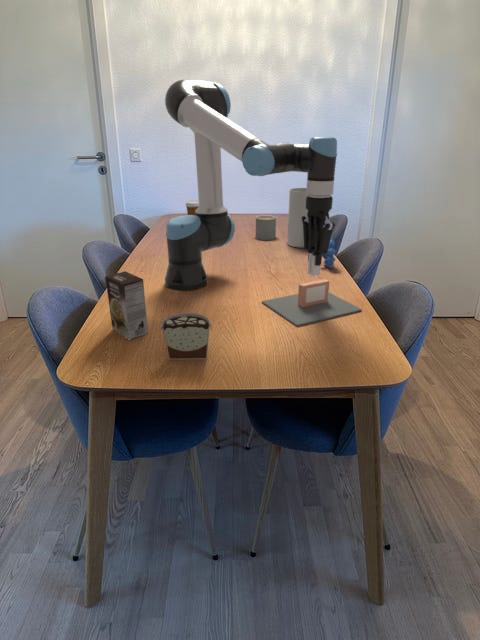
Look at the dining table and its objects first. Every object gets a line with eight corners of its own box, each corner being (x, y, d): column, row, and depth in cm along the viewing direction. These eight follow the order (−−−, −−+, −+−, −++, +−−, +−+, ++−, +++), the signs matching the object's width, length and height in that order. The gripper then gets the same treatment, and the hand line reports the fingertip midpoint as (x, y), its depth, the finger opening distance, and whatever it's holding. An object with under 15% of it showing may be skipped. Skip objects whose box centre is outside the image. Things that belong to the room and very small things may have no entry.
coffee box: (111, 330, 122) (103, 275, 115) (131, 323, 126) (125, 270, 119) (128, 340, 116) (121, 284, 109) (149, 333, 120) (143, 278, 113)
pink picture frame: (323, 299, 141) (325, 279, 138) (327, 301, 139) (329, 281, 136) (297, 305, 136) (298, 284, 133) (301, 307, 135) (303, 286, 132)
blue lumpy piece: (313, 262, 179) (316, 233, 174) (330, 261, 180) (332, 233, 175) (320, 271, 169) (322, 240, 164) (337, 270, 169) (340, 240, 164)
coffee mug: (276, 239, 212) (277, 219, 208) (256, 240, 212) (257, 219, 207) (272, 233, 224) (273, 213, 220) (253, 233, 224) (253, 214, 219)
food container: (213, 347, 113) (212, 311, 108) (212, 358, 107) (211, 322, 103) (165, 347, 112) (163, 312, 108) (162, 359, 107) (159, 323, 102)
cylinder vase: (285, 247, 200) (287, 191, 189) (289, 240, 211) (291, 187, 200) (312, 249, 197) (316, 192, 187) (315, 242, 208) (318, 188, 198)
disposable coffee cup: (184, 222, 248) (183, 201, 243) (201, 221, 250) (200, 200, 245) (188, 226, 240) (187, 203, 234) (205, 224, 242) (204, 203, 237)
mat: (297, 326, 124) (297, 324, 123) (261, 302, 140) (261, 301, 139) (361, 311, 134) (361, 309, 133) (321, 290, 150) (321, 288, 149)
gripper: (346, 198, 119) (337, 278, 129) (315, 191, 131) (310, 266, 141) (324, 200, 116) (317, 283, 126) (294, 193, 128) (290, 269, 138)
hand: (313, 274), depth 133 cm, fingers closed
